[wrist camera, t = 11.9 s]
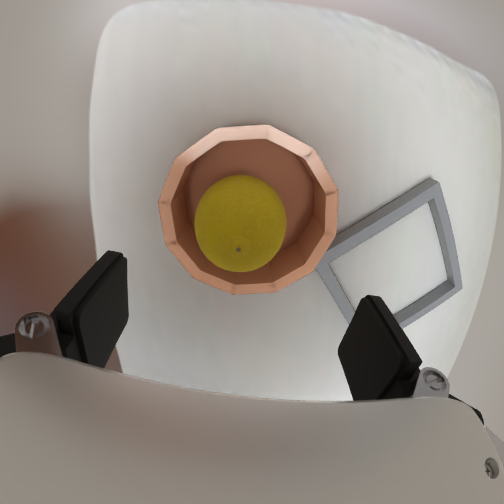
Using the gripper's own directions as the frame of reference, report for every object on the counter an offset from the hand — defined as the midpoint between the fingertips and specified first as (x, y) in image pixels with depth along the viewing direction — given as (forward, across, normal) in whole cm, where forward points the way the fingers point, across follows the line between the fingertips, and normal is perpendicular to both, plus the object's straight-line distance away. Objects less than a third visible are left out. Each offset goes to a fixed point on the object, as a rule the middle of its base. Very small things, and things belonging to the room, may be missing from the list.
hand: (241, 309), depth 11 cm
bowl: (+12, 0, -1) cm, 13 cm away
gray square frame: (+13, -15, +2) cm, 20 cm away
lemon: (+12, 0, -1) cm, 12 cm away
